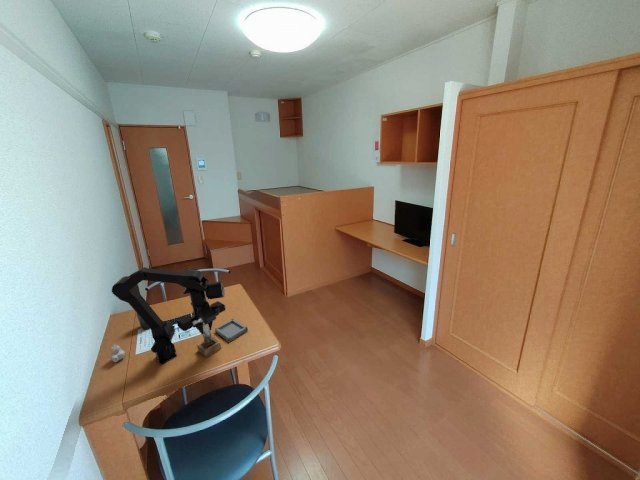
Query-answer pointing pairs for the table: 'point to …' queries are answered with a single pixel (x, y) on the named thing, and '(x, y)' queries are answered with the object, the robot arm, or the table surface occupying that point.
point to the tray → (231, 330)
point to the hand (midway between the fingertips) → (206, 332)
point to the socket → (211, 349)
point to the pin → (206, 331)
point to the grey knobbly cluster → (116, 353)
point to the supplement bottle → (142, 323)
